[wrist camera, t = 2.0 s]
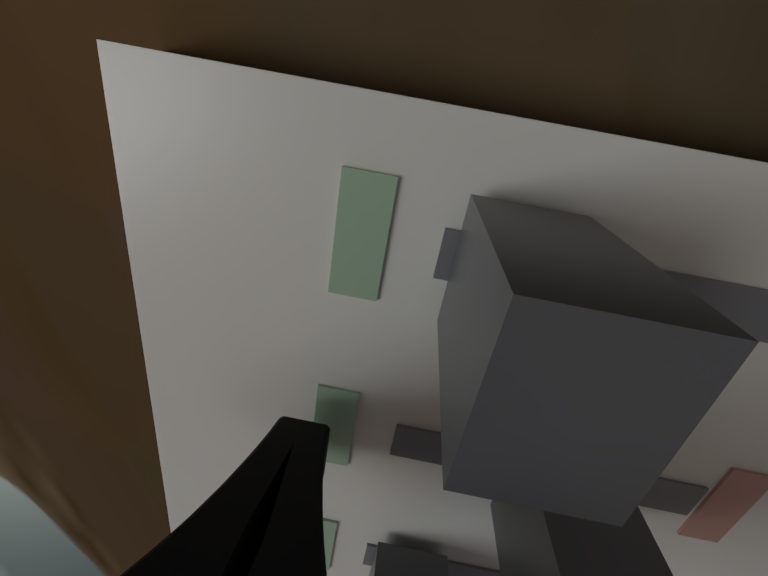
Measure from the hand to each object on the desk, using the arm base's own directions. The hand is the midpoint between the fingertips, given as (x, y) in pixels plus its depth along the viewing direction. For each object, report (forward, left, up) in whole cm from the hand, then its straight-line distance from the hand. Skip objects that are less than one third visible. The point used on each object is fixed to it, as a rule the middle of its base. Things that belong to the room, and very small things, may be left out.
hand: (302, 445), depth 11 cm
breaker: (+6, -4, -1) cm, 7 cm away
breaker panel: (0, -6, -3) cm, 7 cm away
